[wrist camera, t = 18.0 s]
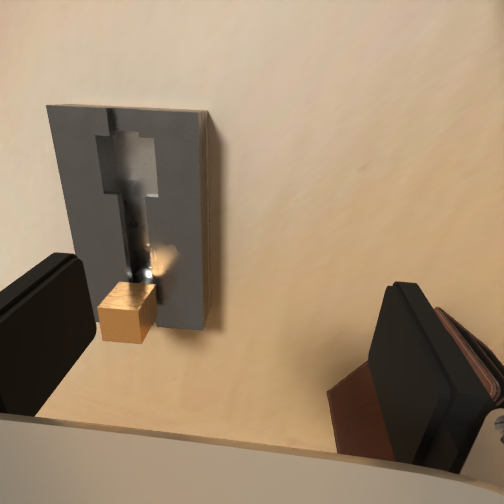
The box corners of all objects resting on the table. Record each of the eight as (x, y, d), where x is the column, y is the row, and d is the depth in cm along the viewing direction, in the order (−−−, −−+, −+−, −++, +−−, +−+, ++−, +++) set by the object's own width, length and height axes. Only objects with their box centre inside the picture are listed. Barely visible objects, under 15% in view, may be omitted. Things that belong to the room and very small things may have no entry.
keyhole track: (207, 110, 34) (198, 112, 30) (210, 308, 44) (203, 330, 40) (73, 104, 35) (45, 105, 31) (106, 300, 45) (88, 321, 41)
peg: (167, 266, 41) (138, 310, 32) (169, 294, 43) (141, 344, 34) (135, 263, 41) (97, 307, 32) (137, 291, 43) (102, 340, 34)
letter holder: (325, 391, 49) (341, 494, 36) (437, 304, 42) (507, 395, 29) (373, 423, 51) (405, 532, 38) (488, 346, 44) (574, 449, 31)
